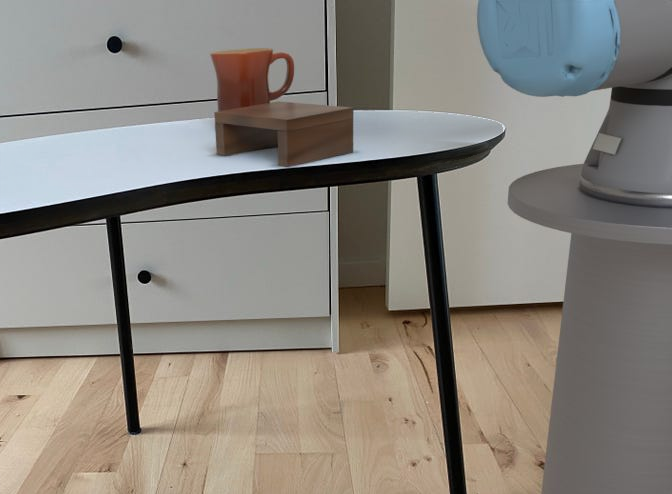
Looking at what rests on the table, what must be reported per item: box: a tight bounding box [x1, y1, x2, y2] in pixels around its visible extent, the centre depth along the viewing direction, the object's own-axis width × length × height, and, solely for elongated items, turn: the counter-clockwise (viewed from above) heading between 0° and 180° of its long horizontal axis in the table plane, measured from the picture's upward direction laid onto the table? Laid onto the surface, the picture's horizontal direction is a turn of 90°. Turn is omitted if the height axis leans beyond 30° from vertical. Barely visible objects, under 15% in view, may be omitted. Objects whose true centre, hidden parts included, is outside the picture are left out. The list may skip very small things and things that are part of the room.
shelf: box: [214, 101, 354, 168], centre depth 97 cm, size 13×10×5 cm
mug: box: [209, 47, 295, 112], centre depth 118 cm, size 12×9×10 cm
